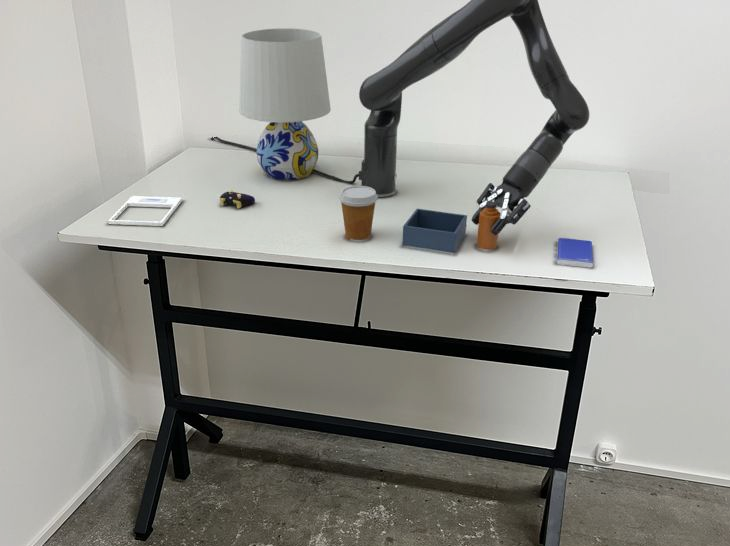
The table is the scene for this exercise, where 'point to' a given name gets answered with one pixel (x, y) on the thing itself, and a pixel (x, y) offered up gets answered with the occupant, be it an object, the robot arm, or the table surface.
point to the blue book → (575, 252)
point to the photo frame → (147, 202)
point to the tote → (434, 230)
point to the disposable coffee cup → (358, 211)
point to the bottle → (487, 227)
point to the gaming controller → (236, 199)
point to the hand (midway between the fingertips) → (483, 227)
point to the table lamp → (284, 96)
